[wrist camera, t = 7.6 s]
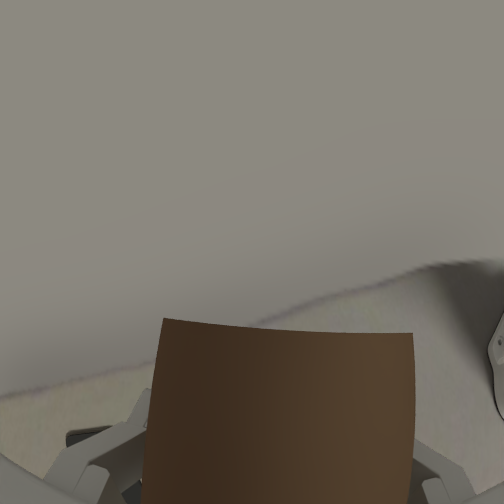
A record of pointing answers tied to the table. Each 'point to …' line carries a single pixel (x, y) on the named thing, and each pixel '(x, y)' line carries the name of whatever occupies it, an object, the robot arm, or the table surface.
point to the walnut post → (279, 417)
